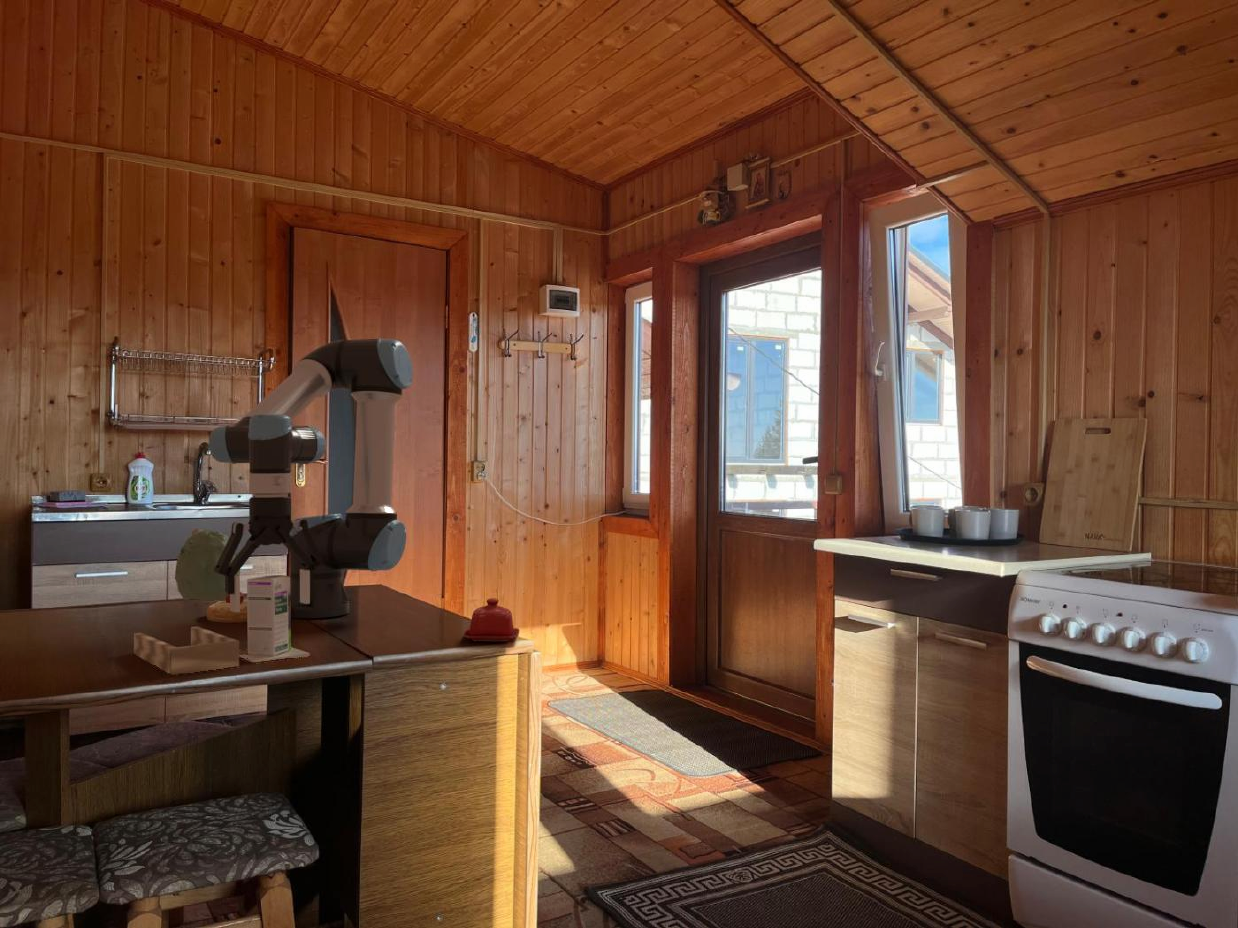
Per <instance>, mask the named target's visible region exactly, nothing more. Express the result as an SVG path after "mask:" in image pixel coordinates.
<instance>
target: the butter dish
mask: <svg viewBox="0 0 1238 928" xmlns="http://www.w3.org/2000/svg"><path fill="white" fill-rule="evenodd" d="M486 603H487V605H483V606H481V607H478V608H476V609H475V610H474V609H473V613H472V615H471V621H470V625H469V628H468V627H467V629H465V631H464V633H463V637H464V638H466V639H470V640H472V641H474V642H509V640H513V639H516V638H518V637H519V635H520V629H519V628H517V627H514V622H513V614H512V611H511V610H510V609H508V608H507V607H503V606H500V605H498V603H499V599H498V598H494V597H491V598H488V599H486Z"/></svg>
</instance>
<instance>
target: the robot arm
mask: <svg viewBox="0 0 1238 928" xmlns="http://www.w3.org/2000/svg"><path fill="white" fill-rule="evenodd" d="M412 381H413V365H412V360H411V356H410V355H409V352H408V350H407V348H406V346H405V345H404V344H403V343H402V342H401V341H399V340H398V339H393V338H392V339H391V338H383V337H381V338H365V339H364V338H363V339H338V340H334V341H333V340H332V341H330V342H327V343H325V344H324V345H321V346H319V347H318V348H316V349H314V350H312V351H310V352H309V353H308V354H306V355H304V356H303V357H302V358H301V359H300V360H299V361H297V362H296V363H295V365H294V366H293V368H292V371H291V374H290V375H288V377H286V378H285V379H284V380H283V381H282V382H281V383H280V384H279V385H277V386H276V387H275V389H273V390H272V391H271V392H270V393H268V395H267V396H265V397H264V398H263V399H262V400H261V401H260V402H258V404H257V405H255V406H253V408H251V410H250V411H249V412H247V414H245V415H244V416H243V417H242V418H241V419H240V420H239V421H237V422H236V423H235V424H234V425H229V424H227V425H224V426H218V427H215V428H214V429H213V430H212V431H211V433H210V435H209V438H208V449H209V452H210V454H211V457H212V458H213V459H214V460H215V461H216V462H219V463H227V464H232V465H236V464H249V466H248V467H249V470H248V493H249V494H250V495H252V496H251V497H250V498H249V499H248V500H249V501H248V508H249V511H248V514H249V521H248V523H242V522H237V521H236V522H233V523H232V525H231V529H230V536H229V540H228V542H227V544H226V546H225V548H224V550H223V552H222V554H221V556H220V558H219V560H218V562H217V565H216V567H215V569H214V572H215V573H218V574H222V575H224V576H225V592H226V594H230V611H233V612H240V592H241V577H240V576H239V577H238V576H235V575H236V574H237V572H238V571H239V570H240V571H241V569H242V568H243V566H244V565H245V564H246V562H247V561H248V559H249V558H250V557H251V556H252V555H253V553H254V552H255V551H256V549H258V548H259V547H260V546H270V545H281V544H282V545H283V546H284V547H286V549H287V550H288V551H289V576H290V605H291V618H293V619H295V618H296V619H318V618H319V619H321V618H330V617H331V618H333V617H339V616H343V615H347V614H349V613H350V601H349V599H348V595H347V593H346V589H345V587H344V583H343V580H342V579H343V577H342V576H343V575H342V573H343V572H342V571H344V570H346V571H347V570H348V571H369V572H378V571H390V570H391V569H394V568H396V566H397V565H398V564H399V563H400V560H401V559H402V556H403V555H404V552H405V548H406V543H407V531H406V526H405V524H404V523H403V522H402V521H400V520H399V519H398V512H397V511H396V510H395V509H394V508H393V506H392V487H393V485H392V484H393V463H394V461H393V460H394V438H395V437H394V435H395V409H396V404H397V403H398V402H399V401H400V400H401V399H402V398H403V390H406V389H408V388H409V387H410V386H411V384H412V383H411V382H412ZM336 390H350V395H351V397H352V398H353V399H354V401H356V426H355V447H354V449H355V451H354V470H353V471H354V473H353V497H352V498H353V499H352V505H351V506H350V507H349V508H348V509H347V510H346V511H345V519H344V516H343V515H342V514H341V513H330V514H323V515H313V516H306V517H298V518H296V519H293V520H292V498H291V496H289V494H291V493H292V464H293V465H294V464H302V465H304V464H305V465H308V464H312V463H315V462H318V461H319V460H320V459H321V458H323V456H324V454H325V452H326V449H327V441H326V438H325V435H324V434H323V433H322V431H320V429H318V428H316V427H313V426H309V425H292V423H293V421H294V420H295V419H296V418H297V417H298V416H300V415H301V414H302V412H304V411H305V410H306V409H307V407H309V405H311V404H312V403H313V402H314V401H315V400H316V399H318V398H322V397H324V396H326V395H328V393H329V392H331V391H336ZM247 531H248V533H249V534H250V535H251V536H250V537H249V538H248V539H247V540H246V542H245V544H244V546H243V547H242V548H241V549H240V551H238V553H237V556H236V557H235V558H234V560H233V561H232V562H231V560H232V558H233V556H234V554H235V551H236V552H237V549H238V547H239V544H240V543H241V541H242V538H243V536H244V535H245V534H246V532H247ZM230 562H231V563H230ZM229 564H230V565H229Z"/></svg>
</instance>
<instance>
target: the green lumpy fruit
mask: <svg viewBox="0 0 1238 928" xmlns="http://www.w3.org/2000/svg"><path fill="white" fill-rule="evenodd" d="M229 538H230V536H228V534H227V533H225V534H224V533H222V532H220V531H217V530H211V529H202V528H194V529H193V530H192V533H191V536H190V537H188V538H187V540H186V541H185V542H184V544H183V546H182V547H181V548H180V552H179V554H178V555H177V559H176V564H175V570H174V571H175V572H174V573H175V574H174V579H175V583H176V586H177V592H178V593H179V594H180V595H181V597H182V599H184V601H186V600H189V599H200V600H194V601H214V600H225V596H226V595H227V594H226V592H225V576H224V575H222V574H218V573H215V572H214V569H215V567H216V565H217V562H218V560H219V558H220V556H221V554H222V552H223V550H224V548H225V546H226V544H227V542H228V540H229ZM237 555H238V553H237V550H236V551H235V554H234V556H233V558H232V560H231V562H232V561H233V560H234V558H235V557H236V556H237ZM231 562H230V563H231ZM229 565H230V564H229ZM240 575H241V569H240V570H239V571H238V572H237V574H236V575H235V576H238V577H240Z"/></svg>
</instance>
